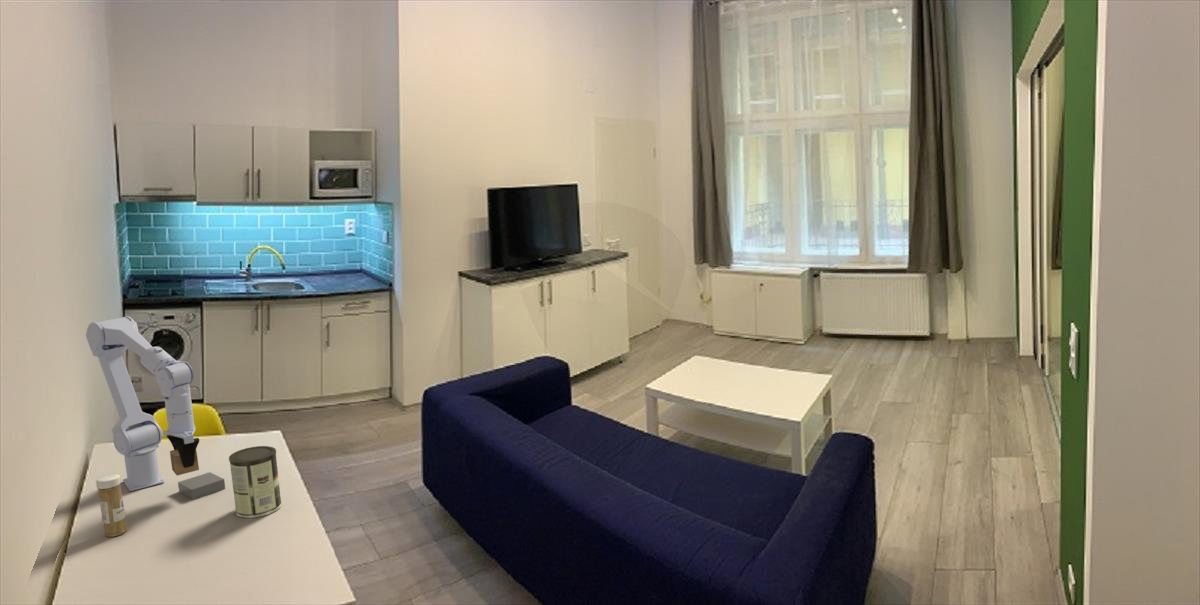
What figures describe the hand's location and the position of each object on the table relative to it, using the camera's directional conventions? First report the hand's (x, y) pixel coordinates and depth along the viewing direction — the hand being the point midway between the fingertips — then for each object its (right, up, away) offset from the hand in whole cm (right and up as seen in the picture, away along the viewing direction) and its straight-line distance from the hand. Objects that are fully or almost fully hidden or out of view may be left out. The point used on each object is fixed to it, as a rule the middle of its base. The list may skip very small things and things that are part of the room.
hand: (186, 463), depth 191 cm
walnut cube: (0, -2, 0) cm, 2 cm away
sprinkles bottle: (-6, -12, -18) cm, 23 cm away
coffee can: (+22, -10, -7) cm, 25 cm away
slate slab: (+2, -8, +4) cm, 9 cm away
